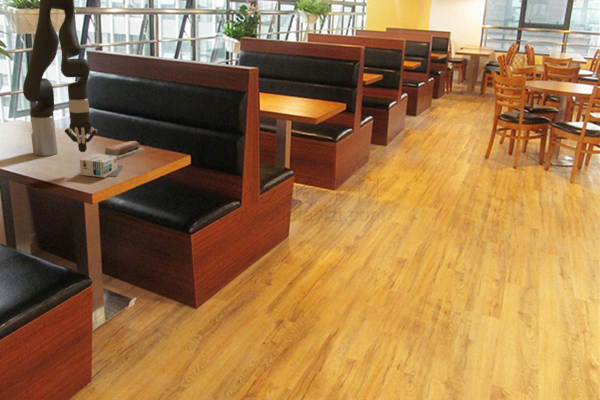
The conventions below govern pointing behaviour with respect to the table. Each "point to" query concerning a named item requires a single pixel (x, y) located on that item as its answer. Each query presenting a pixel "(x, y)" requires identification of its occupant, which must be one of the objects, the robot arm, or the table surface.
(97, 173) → the light bulb box
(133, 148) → the packaged product
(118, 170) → the mat
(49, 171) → the table surface
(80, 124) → the robot arm
